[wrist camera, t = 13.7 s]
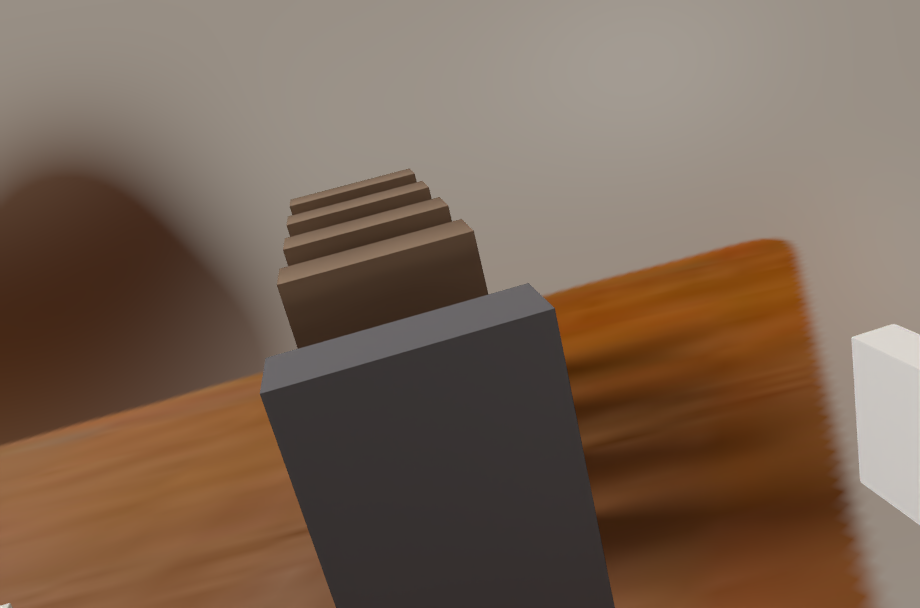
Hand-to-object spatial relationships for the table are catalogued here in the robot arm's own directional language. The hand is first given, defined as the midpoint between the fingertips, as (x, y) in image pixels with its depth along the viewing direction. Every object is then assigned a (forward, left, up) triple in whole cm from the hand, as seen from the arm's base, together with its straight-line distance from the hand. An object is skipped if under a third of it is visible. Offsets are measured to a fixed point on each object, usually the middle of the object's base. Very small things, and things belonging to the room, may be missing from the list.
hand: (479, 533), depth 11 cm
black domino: (0, +3, -7) cm, 8 cm away
